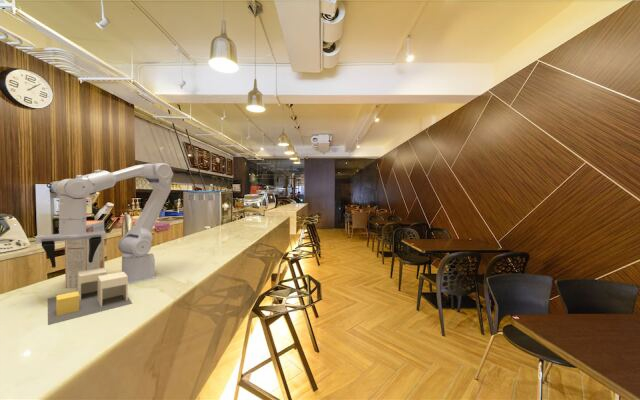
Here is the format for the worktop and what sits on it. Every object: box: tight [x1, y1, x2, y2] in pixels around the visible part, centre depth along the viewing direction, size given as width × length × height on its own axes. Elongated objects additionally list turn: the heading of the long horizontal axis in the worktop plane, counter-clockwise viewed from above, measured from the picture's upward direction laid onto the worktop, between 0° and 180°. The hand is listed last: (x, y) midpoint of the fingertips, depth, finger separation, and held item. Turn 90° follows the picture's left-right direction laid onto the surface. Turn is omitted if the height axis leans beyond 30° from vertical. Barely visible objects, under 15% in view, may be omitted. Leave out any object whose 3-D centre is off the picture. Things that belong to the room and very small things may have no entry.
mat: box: [47, 291, 133, 326], centre depth 70 cm, size 16×20×1 cm
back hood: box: [77, 267, 108, 301], centre depth 74 cm, size 6×6×7 cm
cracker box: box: [64, 220, 105, 289], centre depth 85 cm, size 14×6×21 cm, turn 23°
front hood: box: [98, 271, 129, 307], centre depth 70 cm, size 6×6×7 cm
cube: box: [55, 290, 79, 316], centre depth 64 cm, size 4×4×4 cm
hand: (72, 264), depth 73 cm, fingers open, 7 cm apart
